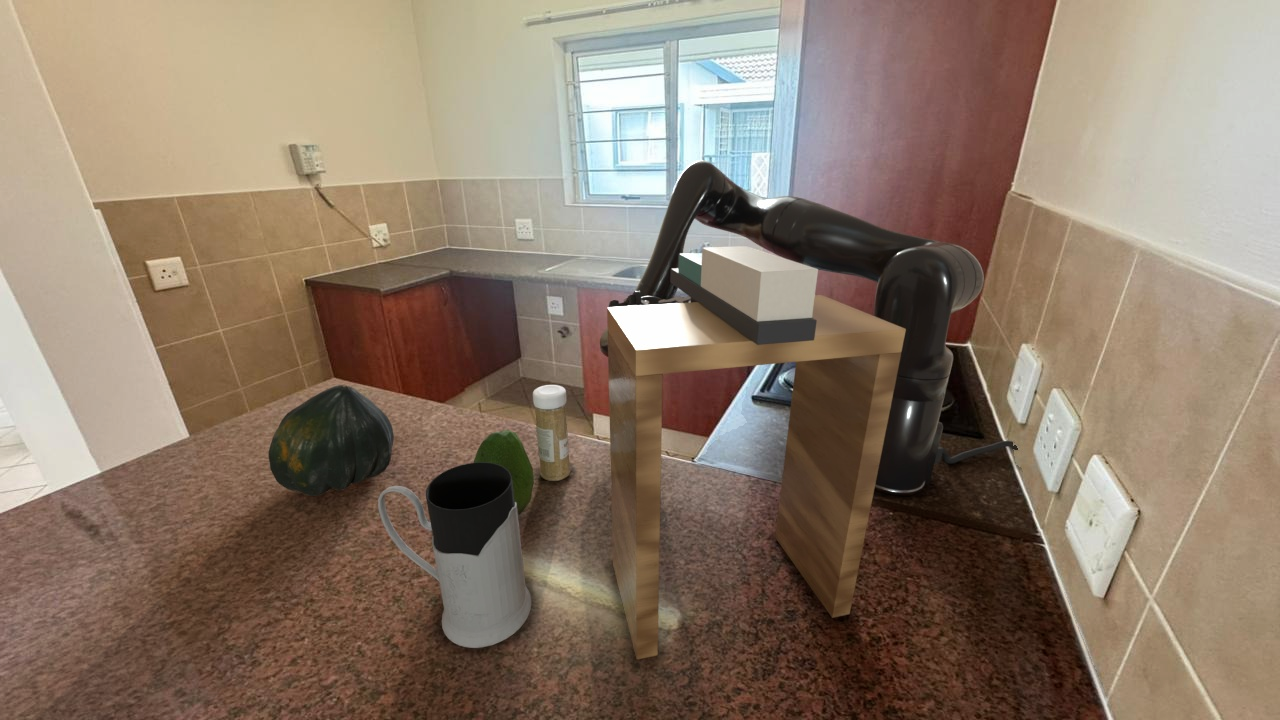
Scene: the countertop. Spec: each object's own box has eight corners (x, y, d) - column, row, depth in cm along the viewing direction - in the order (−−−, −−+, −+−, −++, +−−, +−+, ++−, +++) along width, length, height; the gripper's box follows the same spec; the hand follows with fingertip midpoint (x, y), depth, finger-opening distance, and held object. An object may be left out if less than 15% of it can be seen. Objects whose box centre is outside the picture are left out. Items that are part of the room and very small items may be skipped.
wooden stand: (790, 535, 61) (821, 294, 51) (849, 614, 50) (906, 328, 40) (613, 565, 56) (606, 307, 46) (636, 660, 46) (635, 350, 35)
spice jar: (576, 475, 73) (571, 391, 68) (547, 486, 71) (540, 399, 66) (562, 461, 77) (557, 381, 72) (534, 470, 74) (527, 388, 69)
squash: (233, 456, 68) (264, 391, 61) (334, 413, 81) (369, 356, 74) (301, 534, 67) (340, 477, 60) (392, 479, 80) (432, 427, 73)
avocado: (548, 505, 67) (542, 425, 62) (510, 542, 60) (500, 455, 56) (500, 490, 70) (491, 413, 65) (459, 524, 63) (446, 440, 59)
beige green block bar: (709, 280, 57) (711, 234, 55) (814, 340, 37) (823, 270, 35) (670, 282, 56) (671, 235, 54) (756, 345, 36) (763, 273, 34)
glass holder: (510, 654, 46) (493, 520, 41) (372, 631, 48) (338, 502, 43) (543, 582, 54) (533, 463, 49) (423, 565, 56) (401, 449, 51)
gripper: (598, 306, 79) (613, 270, 63) (684, 301, 82) (719, 266, 66) (603, 352, 78) (619, 328, 62) (690, 345, 81) (727, 321, 65)
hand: (671, 296), depth 64 cm, fingers open, 8 cm apart
